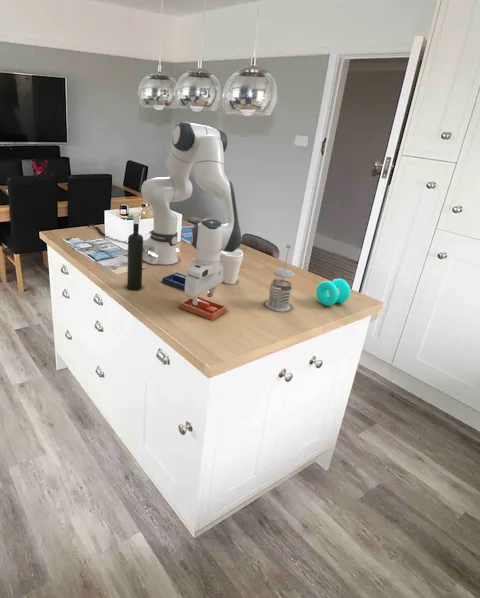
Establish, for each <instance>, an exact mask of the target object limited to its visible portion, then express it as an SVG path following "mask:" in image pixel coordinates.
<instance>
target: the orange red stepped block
mask: <svg viewBox="0 0 480 598" xmlns="http://www.w3.org/2000/svg"><path fill="white" fill-rule="evenodd" d="M198 300H199V304H198V305H194V304H193V299H192V305H193V306H196V307H198V308H201V309H204V310H206V312H209V313H211V314H213V313H215V312H217V308H215V307H212V306H210V303H208V302H205V301H203V300H200V299H198Z"/></svg>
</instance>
